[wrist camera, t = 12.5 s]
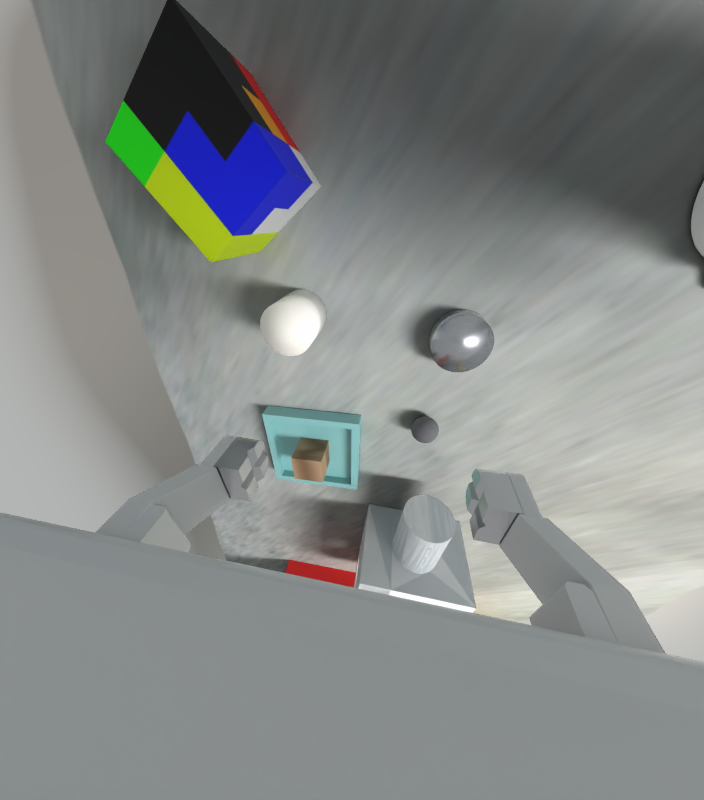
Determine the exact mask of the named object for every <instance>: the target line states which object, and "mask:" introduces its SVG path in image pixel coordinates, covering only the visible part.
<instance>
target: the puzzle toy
mask: <svg viewBox="0 0 704 800" xmlns="http://www.w3.org/2000/svg"><path fill="white" fill-rule="evenodd" d="M105 142H106V143H107V144H108V145H109V146H110V148H111V149H112V150H113V151H114V152H115V153H116V154H117V156H118V157H119V158H120V159H121V160H122V161H123V162H124V164H125V165H126V166H127V167H128V168H129V169H130V170H131V172H132V173H133V174H134V175H135V176H136V177H137V179H138V180H139V181H140V182H141V183H142V184H143V185H144V187H145V188H146V189H147V190H148V191H149V192H150V193H151V195H152V196H153V197H154V198H155V199H156V200H157V201H158V203H159V204H160V205H161V206H162V207H163V208H164V209H165V211H166V212H167V213H168V214H169V215H170V216H171V217H172V219H173V220H174V221H175V222H176V223H177V224H178V225H179V227H180V228H181V229H182V230H183V231H184V232H185V233H186V235H187V236H188V237H189V238H190V239H191V240H192V241H193V243H194V244H195V245H196V246H197V247H198V248H199V249H200V251H201V252H202V253H203V254H204V255H205V256H206V257H207V259H208V260H209V261H210V262H215V261H220V260H224V259H229V258H234V257H238V256H243V255H248V254H252V253H257V252H260V251H261V250H262V249H263V248H264V247H265V246H266V245H267V244H268V243H269V242H270V241H271V240H272V239H273V237H274V236H275V235H276V234H277V233H278V232H279V231H280V230H281V229H282V228H283V227H284V226H285V225H286V224H287V223H288V222H289V220H290V219H291V218H292V217H293V216H294V215H295V214H296V213H297V212H298V211H299V210H300V209H301V208H302V207H303V206H304V205H305V203H306V202H307V201H308V200H309V199H310V198H311V197H312V196H313V195H314V194H315V193H316V192H317V191H318V190H319V189H320V188H321V185H320V183H319V182H318V180H317V179H316V177H315V176H314V174H313V172H312V171H311V169H310V168H309V166H308V164H307V163H306V161H305V160H304V158H303V156H302V155H301V153H300V152H299V150H298V148H297V147H296V145H295V144H294V142H293V140H292V139H291V137H290V136H289V134H288V133H287V131H286V129H285V128H284V126H283V125H282V123H281V121H280V120H279V118H278V117H277V115H276V113H275V112H274V110H273V109H272V107H271V105H270V104H269V102H268V101H267V99H266V98H265V96H264V94H263V93H262V91H261V90H260V88H259V86H258V85H257V83H256V82H255V80H254V78H253V77H252V75H251V74H250V72H249V71H248V70H247V69H246V68H245V67H244V66H243V65H242V64H240V63H239V62H238V61H237V60H236V59H235V58H234V57H233V56H232V55H231V54H230V53H229V52H228V51H227V50H226V49H225V48H224V47H223V46H222V45H221V44H220V43H219V42H218V41H217V40H216V39H215V38H214V37H213V36H212V35H211V34H210V33H209V32H208V31H207V30H206V29H205V28H204V27H203V26H202V25H201V24H200V23H199V22H198V21H197V20H196V19H195V18H194V17H193V16H192V15H191V14H190V13H188V12H187V11H186V10H185V9H184V8H183V7H182V6H181V5H180V4H179V3H178V2H177V1H176V0H167V2H166V4H165V7H164V9H163V11H162V13H161V16H160V18H159V20H158V23H157V25H156V27H155V29H154V32H153V34H152V36H151V38H150V41H149V43H148V45H147V48H146V50H145V52H144V54H143V57H142V59H141V61H140V63H139V66H138V68H137V70H136V73H135V75H134V77H133V79H132V82H131V84H130V86H129V88H128V91H127V93H126V95H125V98H124V100H123V102H122V104H121V107H120V109H119V111H118V113H117V116H116V118H115V120H114V123H113V125H112V127H111V129H110V132H109V134H108V136H107V138H106V141H105Z"/></svg>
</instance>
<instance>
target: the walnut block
mask: <svg viewBox="0 0 704 800" xmlns="http://www.w3.org/2000/svg"><path fill="white" fill-rule="evenodd" d="M291 460H292V466H293V472H294V478H295V479H301V480H309V481H316V482H323V481H324V478H325V474H326V471H327V468H328V464H329V461H330V458H329V440H320V439H311V438H303V437H301V438H300V440H299V442H298V444H297V447H296V449H295V451H294V453H293V455H292V457H291Z"/></svg>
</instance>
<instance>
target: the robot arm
mask: <svg viewBox="0 0 704 800" xmlns="http://www.w3.org/2000/svg"><path fill="white" fill-rule="evenodd" d="M691 233H692V238H693V241H694V244H695V246H696V248H697V250H698V251H699V252H700V254H701V255H702V256H703V257H704V181H703V183H702V185H701V188H700V190H699V192H698V195H697V198H696V200H695V204H694V207H693V212H692V218H691ZM264 449H265V445H264V442H263V441H260V440H254V439H248V438H242V437H234V436H226V437H224V438H223V439H222V440H221V441H220V442H219V443H218V445H217V446H216V447H215V448H214V449H213V450H212V451H211V453H210V454H209V455H208V456H207V457H206V458H205V460H204V461H203V462H202V463H201V464H200V465H198V464H196V465H194V466H192V467H190V468H189V469H186V470H185V471H183V472H181V473H179V474H177V475H175V476H173V477H171V478H169V479H167V480H165V481H163V482H161V483H159V484H157V485H155V486H153V487H151V488H149V489H147V490H146V491H143V492H142V493H140V494H138V495H136V496H134V497H132V498H130V499H129V500H128V501H127V502H125V504H124V505H123V506H122V507H120V509H119V510H118V511H116V512H115V513H114V514H113V515H112V516H111V517H110V518H109V519H108V520H107V521H106V522H105V523H104V524H103V525H102V526H101V527H100V529H98V530H97V531H96V532H95V533H94V532H89V531H85V530H80V529H75V528H70V527H66V526H61V525H56V524H51V523H47V522H42V521H37V520H33V519H28V518H23V517H19V516H14V515H10V514H4V513H0V800H704V662H701V661H697V660H692V659H687V658H682V657H678V656H673V655H668V654H666V653H665V652H664V650H663V648H662V647H661V645H660V643H659V641H658V640H657V638H656V636H655V635H654V633H653V631H652V630H651V628H650V626H649V624H648V623H647V621H646V619H645V617H644V616H643V614H642V612H641V610H640V609H639V607H638V605H637V604H636V602H635V600H634V598H633V597H632V595H631V593H630V592H629V591H628V590H627V589H626V588H625V587H624V586H623V585H622V584H620V583H619V582H618V581H617V580H616V579H615V578H614V577H613V576H611V575H610V574H609V573H608V572H607V571H606V570H605V569H604V568H603V567H601V566H600V565H599V564H598V563H597V562H596V561H595V560H594V559H592V558H591V557H590V556H589V555H588V554H587V553H586V552H585V551H584V550H582V549H581V548H580V547H579V546H578V545H577V544H576V543H575V542H573V541H572V540H571V539H570V538H569V537H568V536H567V535H566V534H565V533H563V532H562V531H561V530H560V529H559V528H558V527H557V526H556V525H554V524H553V523H552V522H551V521H550V520H549V519H548V518H543V517H542V515H541V513H540V511H539V508H538V506H537V504H536V502H535V499H534V497H533V495H532V493H531V490H530V488H529V486H528V484H527V481H526V479H525V477H524V476H523V475H521V474H513V473H505V472H497V471H489V470H481V469H475V470H474V472H473V474H472V479H473V482H471V483H469V484H468V487H467V491H466V504H467V510H468V511H469V512H470V513H471V514H472V517H471V519H470V526H471V531H472V536H473V540H478V541H483V542H488V543H493V544H498V545H500V548H501V549H502V550H503V552H504V553H505V554H506V556H507V557H508V558H509V560H510V561H511V562H512V564H513V565H514V566H515V568H516V569H517V570H518V572H519V573H520V574H521V576H522V577H523V579H524V580H525V581H526V583H527V584H528V585H529V587H530V588H531V589H532V591H533V592H534V593H535V595H536V596H537V597H538V599H539V600H540V601H541V603H542V604H543V605H542V606H541V607H540V608H538V609H537V610H536V611H535V612H534V613H533V614H532V615H531V617H530V621H531V625H527V624H523V623H518V622H513V621H508V620H504V619H499V618H494V617H490V616H485V615H480V614H475V613H471V612H466V611H461V610H457V609H452V608H447V607H443V606H438V605H433V604H428V603H424V602H419V601H414V600H410V599H405V598H400V597H396V596H391V595H386V594H381V593H377V592H372V591H367V590H363V589H358V588H353V587H349V586H344V585H339V584H334V583H330V582H325V581H320V580H316V579H311V578H306V577H302V576H297V575H292V574H287V573H283V572H278V571H273V570H269V569H264V568H259V567H254V566H250V565H245V564H240V563H236V562H231V561H226V560H221V559H217V558H212V557H207V556H203V555H198V554H193V553H188V551H189V550H190V548H191V544H190V542H189V541H188V539H187V538H186V536H185V534H186V533H187V532H189V531H190V530H191V529H193V528H194V527H195V526H196V525H198V524H199V523H200V522H202V521H203V520H204V519H205V518H207V517H208V516H209V515H211V514H212V513H213V512H215V511H216V510H217V509H218V508H220V507H221V506H222V505H224V504H225V503H226V502H227V501H229V500H230V498H231V499H238V500H245V501H250V500H251V499H252V497H253V495H254V493H255V492H256V490H257V488H258V484H257V482H258V481H259V480H261V479H262V478H264V476H265V474H266V472H267V468H268V456H267V454H266V453H265V452H263V450H264Z"/></svg>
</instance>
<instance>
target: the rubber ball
mask: <svg viewBox="0 0 704 800" xmlns="http://www.w3.org/2000/svg"><path fill="white" fill-rule="evenodd" d="M411 431H412V435H413V437H414V438H415V439H416V440H417V441H419V442H422V443H429V442H432V441H433V440H434V439H435V438H436V437H437V435H438V431H439V429H438V425H437V423H436V422H435V421H434V420H433V419H432V418H430V417H425V416H424V417H419V418H417V419H416V420H415V421H414V422H413V424H412V427H411Z"/></svg>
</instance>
